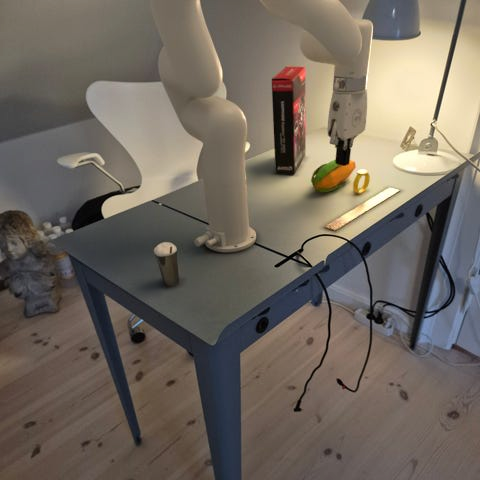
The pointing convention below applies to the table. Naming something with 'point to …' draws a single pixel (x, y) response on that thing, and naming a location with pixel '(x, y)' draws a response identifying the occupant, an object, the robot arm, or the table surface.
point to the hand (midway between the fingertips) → (342, 163)
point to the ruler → (361, 209)
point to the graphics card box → (289, 119)
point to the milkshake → (167, 263)
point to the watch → (357, 178)
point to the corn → (331, 176)
